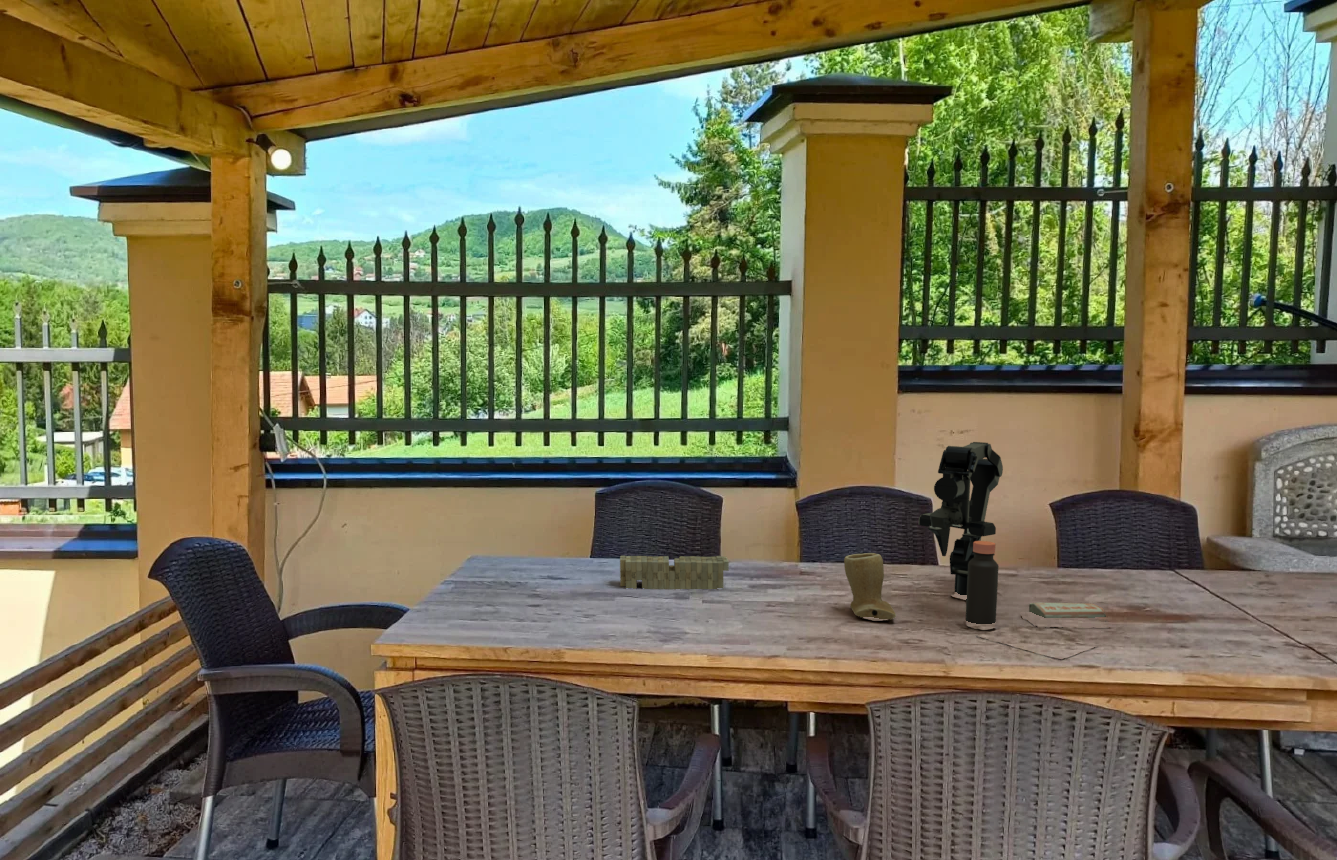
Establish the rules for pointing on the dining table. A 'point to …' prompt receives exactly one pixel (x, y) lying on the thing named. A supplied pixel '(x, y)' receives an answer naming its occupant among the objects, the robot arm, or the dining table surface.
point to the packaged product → (1066, 610)
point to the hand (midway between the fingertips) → (954, 558)
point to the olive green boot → (867, 585)
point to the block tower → (673, 572)
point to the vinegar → (982, 584)
